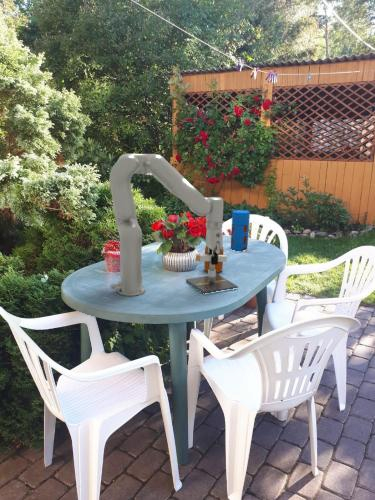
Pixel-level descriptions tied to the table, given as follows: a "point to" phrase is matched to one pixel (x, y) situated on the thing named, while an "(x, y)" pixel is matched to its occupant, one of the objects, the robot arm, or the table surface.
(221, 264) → the wine bottle
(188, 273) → the table surface
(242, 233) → the thermos
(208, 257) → the t handle
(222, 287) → the post base
